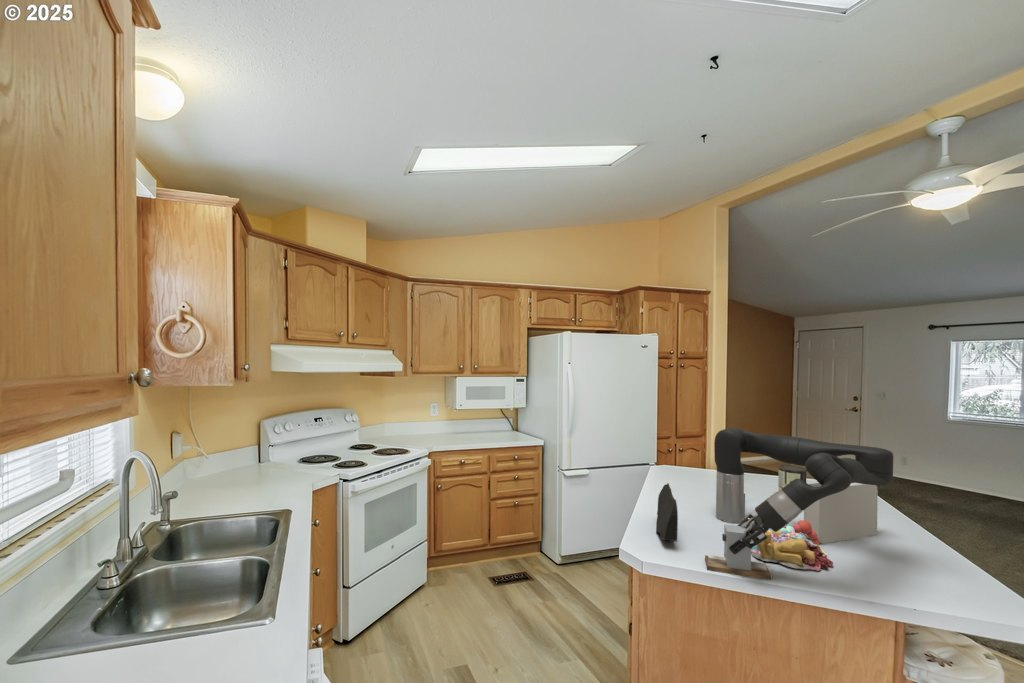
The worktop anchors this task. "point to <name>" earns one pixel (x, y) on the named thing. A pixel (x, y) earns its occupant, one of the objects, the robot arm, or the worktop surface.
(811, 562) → the candy landscape model
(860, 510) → the rounded-edge off-white block
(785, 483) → the coffee can
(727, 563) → the breaker module
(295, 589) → the worktop surface
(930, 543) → the worktop surface
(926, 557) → the worktop surface
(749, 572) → the DIN rail board
